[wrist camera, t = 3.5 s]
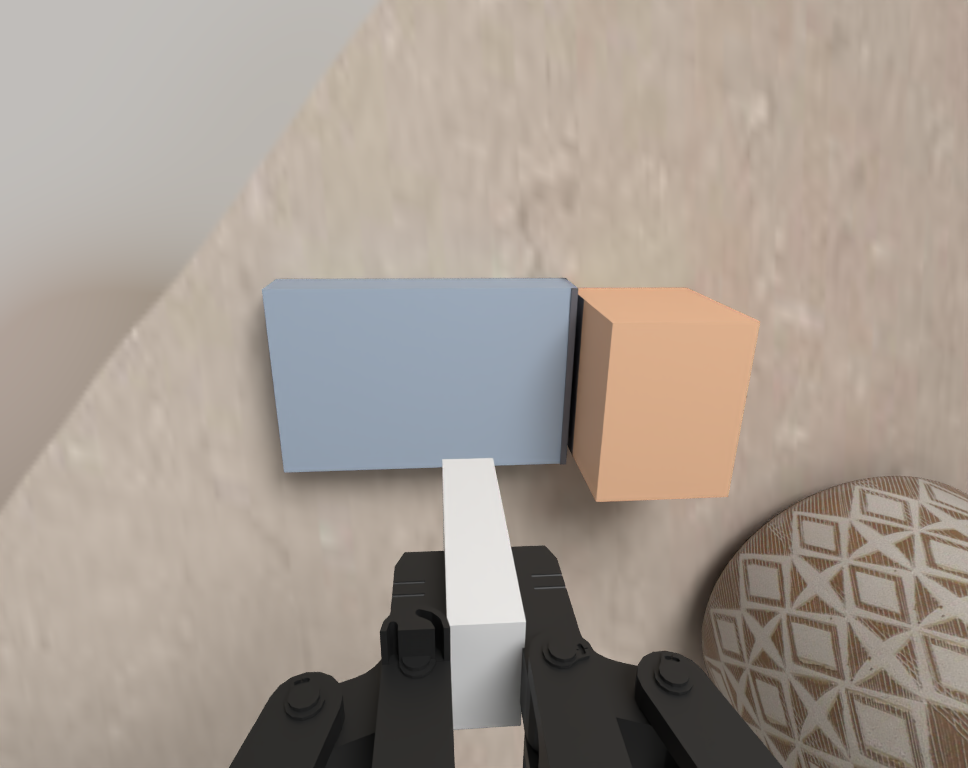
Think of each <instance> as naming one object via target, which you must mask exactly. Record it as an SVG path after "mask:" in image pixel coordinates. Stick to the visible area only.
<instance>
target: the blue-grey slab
mask: <svg viewBox="0 0 968 768" xmlns="http://www.w3.org/2000/svg"><path fill="white" fill-rule="evenodd" d="M262 294H263V302H264V310H265V318H266V327H267V335H268V343H269V351H270V360H271V368H272V376H273V384H274V393H275V401H276V409H277V417H278V426H279V434H280V442H281V450H282V459H283V467H284V472H313V471H344V470H374V469H405V468H435V467H442V459H473V458H493V461H494V466H497V465H527V464H558V463H560V464H566V457H567V443H568V429H569V415H570V401H571V386H572V372H573V358H574V344H575V330H576V316H577V301H578V288H577V287H576V286H575V285H574V284H572V283H571V282H570V281H568V280H567V279H566V278H489V279H276V280H274V281H273V282H271V283H270V284H269V285H267V286H266V287H265V288H263V289H262Z"/></svg>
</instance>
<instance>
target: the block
mask: <svg viewBox="0 0 968 768" xmlns="http://www.w3.org/2000/svg"><path fill="white" fill-rule="evenodd" d="M759 326H760V321H758V320H756V319H753V318H751V317H749V316H747V315H745V314H743V313H740V312H738V311H736V310H734V309H732V308H730V307H727V306H725V305H723V304H721V303H719V302H716V301H714V300H712V299H710V298H708V297H706V296H703V295H701V294H699V293H697V292H695V291H693V290H690V289H688V288H578V301H577V316H576V330H575V344H574V358H573V372H572V386H571V401H570V415H569V429H568V443H567V445H568V447H569V449H570V451H571V453H572V455H573V457H574V459H575V461H576V463H577V465H578V467H579V469H580V471H581V473H582V475H583V477H584V479H585V481H586V483H587V485H588V487H589V489H590V491H591V493H592V495H593V497H594V499H595V501H596V502H608V501H633V500H659V499H685V498H710V497H728V494H729V489H730V483H731V478H732V472H733V467H734V461H735V456H736V451H737V445H738V440H739V434H740V429H741V423H742V418H743V413H744V407H745V402H746V396H747V391H748V386H749V380H750V375H751V369H752V364H753V358H754V353H755V348H756V342H757V337H758V331H759Z"/></svg>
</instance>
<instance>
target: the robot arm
mask: <svg viewBox="0 0 968 768" xmlns="http://www.w3.org/2000/svg"><path fill="white" fill-rule="evenodd" d="M442 474H443V543H444V551H430V552H405V553H404V554H403V556H402V557H401V558H400V560H399V561H398V563H397V564H396V566H395V571H394V581H393V592H392V602H391V613H390V615H389V616H388V617H387V618H386V619H385V620H384V622H383V624H382V627H381V630H380V642H381V657H382V659H381V660H380V662H379V663H378V664H377V665H376V666H375V667H374V668H372V669H371V670H369V671H368V672H367V673H365V674H363V675H360V676H358V677H356V678H353V679H350V680H347V681H344V682H342V683H338V682H337V681H336V680H335V679H334V678H333V677H332V676H330V675H327V674H324V673H321V672H306V673H303V674H300V675H297V676H294V677H292V678H290V679H289V680H287V681H286V682H284V683H283V684H281V685H280V686H279V687H278V688H277V689H276V691H275V692H274V693H273V694H272V695H271V697H270V698H269V700H268V702H267V703H266V705H265V707H264V709H263V710H262V712H261V714H260V715H259V717H258V719H257V721H256V722H255V724H254V726H253V727H252V729H251V731H250V733H249V734H248V736H247V738H246V739H245V741H244V743H243V745H242V746H241V748H240V750H239V751H238V753H237V755H236V757H235V758H234V760H233V762H232V763H231V765H230V767H229V768H455V762H454V736H453V730H459V729H474V728H490V727H505V726H521V712H522V718H523V724H524V731H525V737H524V756H523V768H783V767H782V765H781V764H780V763H779V762H778V761H777V759H776V758H775V757H774V756H773V755H772V753H771V752H770V751H769V750H768V748H767V747H766V746H765V745H764V744H763V742H762V741H761V740H760V739H759V738H758V736H757V735H756V734H755V733H754V732H753V730H752V729H751V728H750V727H749V726H748V724H747V723H746V722H745V721H744V720H743V718H742V717H741V716H740V715H739V714H738V712H737V711H736V710H735V709H734V707H733V706H732V705H731V704H730V703H729V701H728V700H727V699H726V698H725V697H724V695H723V694H722V693H721V692H720V691H719V689H718V688H717V687H716V686H715V685H714V683H713V682H712V681H711V680H710V679H709V677H708V676H707V675H706V674H705V673H704V671H703V670H702V669H701V668H700V667H699V666H697V665H696V664H695V663H694V662H693V661H692V660H690V659H688V658H686V657H684V656H682V655H680V654H677V653H673V652H668V651H659V652H652V653H650V654H648V655H646V656H644V657H643V658H642V660H641V661H640V663H639V664H638V666H635V665H631V664H626V663H622V662H617V661H614V660H611V659H607V658H605V657H603V656H601V655H599V654H598V653H596V652H595V651H594V650H593V649H592V647H591V645H590V644H589V643H588V642H587V641H586V640H585V639H584V638H582V636H581V634H580V631H579V628H578V625H577V621H576V618H575V615H574V612H573V608H572V605H571V602H570V599H569V596H568V592H567V589H566V588H565V583H564V580H563V576H562V573H561V570H560V567H559V564H558V560H557V558H556V557H555V556H554V555H553V554H552V553H551V552H550V551H549V550H548V549H547V547H546V546H522V547H511V545H510V540H509V535H508V530H507V525H506V520H505V515H504V510H503V505H502V500H501V495H500V490H499V485H498V480H497V475H496V471H495V466H494V461H493V458H473V459H442Z"/></svg>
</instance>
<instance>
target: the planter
mask: <svg viewBox="0 0 968 768" xmlns="http://www.w3.org/2000/svg"><path fill="white" fill-rule="evenodd" d="M702 651H703V657H704V662H705V665H706V668H707V672H708V674H709V676H710V679H711V681H712V682H713V683H714V685H715V686H716V687H717V688H718V689H719V691H720V692H721V693H722V694H723V695H724V697H725V698H726V699H727V700H728V701H729V703H730V704H731V705H732V706H733V707H734V709H735V710H736V711H737V712H738V714H739V715H740V716H741V717H742V718H743V720H744V721H745V722H746V723H747V724H748V726H749V727H750V728H751V729H752V730H753V732H754V733H755V734H756V735H757V736H758V738H759V739H760V740H761V741H762V742H763V744H764V745H765V746H766V747H767V748H768V750H769V751H770V752H771V753H772V755H773V756H774V757H775V758H776V759H777V761H778V762H779V763H780V764H781V765H782V767H783V768H968V495H967V494H966V493H964V492H962V491H960V490H958V489H956V488H954V487H951V486H949V485H946V484H943V483H940V482H937V481H933V480H928V479H924V478H917V477H908V476H884V477H874V478H867V479H861V480H856V481H852V482H848V483H844V484H841V485H837V486H834V487H831V488H829V489H826V490H823V491H821V492H818V493H816V494H814V495H812V496H809V497H807V498H805V499H804V500H802V501H800V502H798V503H796V504H794V505H793V506H791V507H789V508H788V509H786V510H784V511H783V512H781V513H780V514H778V515H777V516H776V517H774V518H773V519H771V520H770V521H769V522H768V523H766V524H765V525H764V526H763V527H761V528H760V529H759V530H758V531H757V532H756V533H755V534H753V535H752V536H751V537H750V538H749V539H748V540H747V541H746V542H745V543H744V545H743V546H742V547H741V548H740V549H739V550H738V551H737V552H736V554H735V555H734V556H733V558H732V559H731V560H730V561H729V563H728V564H727V566H726V567H725V569H724V570H723V572H722V573H721V575H720V577H719V579H718V580H717V582H716V584H715V586H714V588H713V591H712V593H711V595H710V598H709V601H708V604H707V607H706V611H705V615H704V620H703V626H702Z"/></svg>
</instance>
